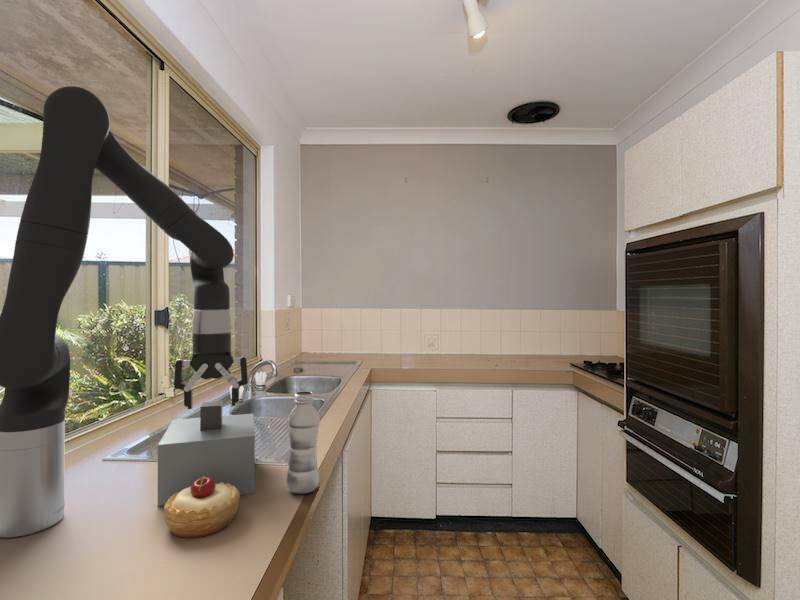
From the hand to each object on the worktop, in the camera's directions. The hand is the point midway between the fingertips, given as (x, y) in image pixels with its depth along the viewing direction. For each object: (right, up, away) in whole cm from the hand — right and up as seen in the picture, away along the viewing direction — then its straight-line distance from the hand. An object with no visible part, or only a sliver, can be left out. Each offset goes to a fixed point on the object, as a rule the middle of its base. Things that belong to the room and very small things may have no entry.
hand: (212, 406), depth 91 cm
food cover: (0, -16, 0) cm, 16 cm away
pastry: (+6, -17, -16) cm, 24 cm away
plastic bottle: (+20, -17, -4) cm, 26 cm away
